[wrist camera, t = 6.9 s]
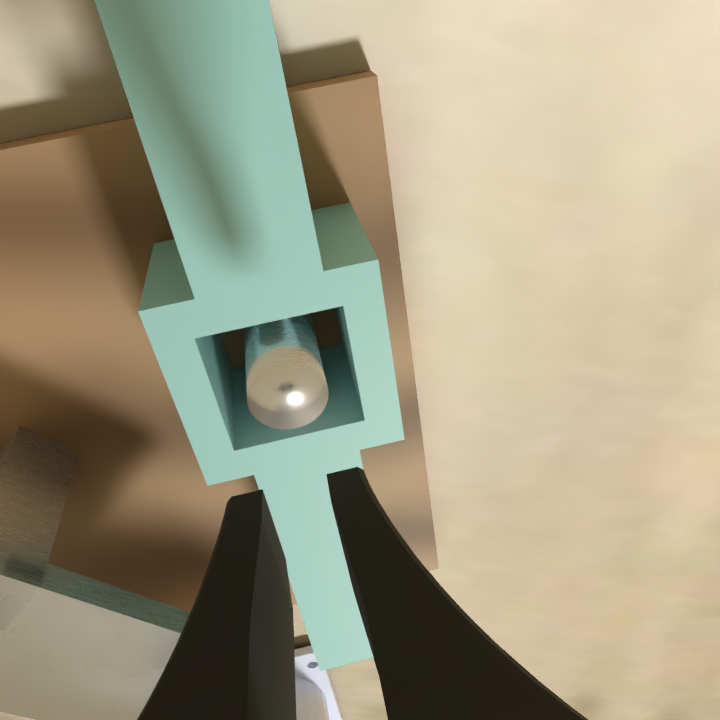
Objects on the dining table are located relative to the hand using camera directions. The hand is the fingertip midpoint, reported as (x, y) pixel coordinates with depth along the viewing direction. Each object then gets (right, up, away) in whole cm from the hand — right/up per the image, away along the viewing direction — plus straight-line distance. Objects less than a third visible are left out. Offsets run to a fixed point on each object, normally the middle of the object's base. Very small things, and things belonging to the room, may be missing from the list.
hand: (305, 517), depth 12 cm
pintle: (-2, +5, +8) cm, 9 cm away
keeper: (-8, -3, +10) cm, 14 cm away
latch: (-1, +3, +8) cm, 9 cm away
